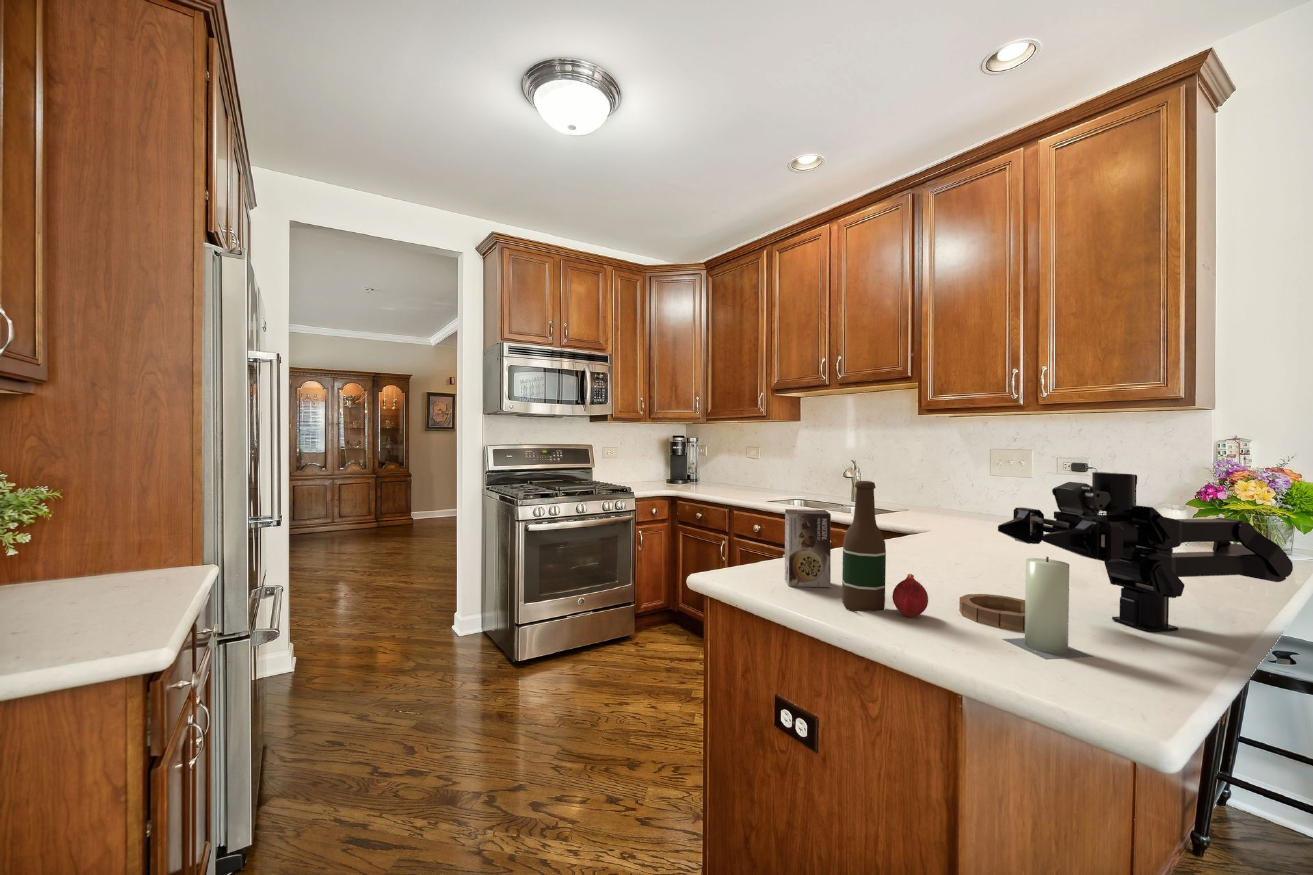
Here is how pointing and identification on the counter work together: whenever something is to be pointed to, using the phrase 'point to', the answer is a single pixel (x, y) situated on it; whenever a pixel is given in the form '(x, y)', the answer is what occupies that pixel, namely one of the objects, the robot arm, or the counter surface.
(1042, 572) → the candle
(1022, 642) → the mat
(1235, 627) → the counter surface
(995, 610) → the bowl
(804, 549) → the coffee box
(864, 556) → the beer bottle
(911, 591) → the onion
